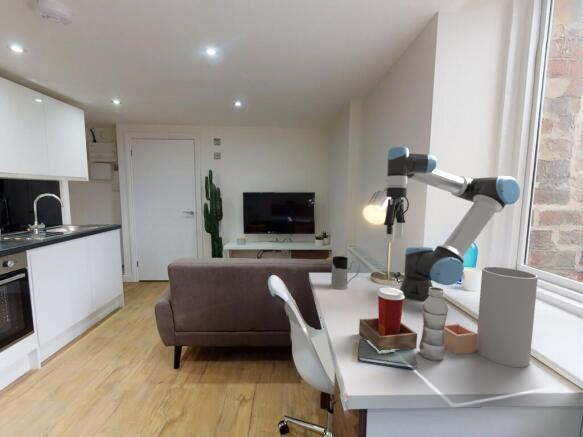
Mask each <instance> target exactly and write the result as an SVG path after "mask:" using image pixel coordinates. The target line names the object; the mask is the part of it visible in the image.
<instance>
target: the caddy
mask: <svg viewBox="0 0 583 437" xmlns="http://www.w3.org/2000/svg"><path fill="white" fill-rule="evenodd" d="M358 326H359V327H358V334H359V336H360V337H361V338H362V339H363V340H364V339H366V340H369V341H370V342H371V343H372V344H373V345H374V346H375V347H376V348H377V349H378V350H379V351H381V350H391V349H405V348H413V349H417V345H418V344H417V341H418V333H417V332H416V331H414V330H412V329H411V328H410V327H408V326H407V325H406V324H404V323H403V322H401V323H400V331H399V334H398V335H388V336H380V335H379V322H378V317H375V318H374V317H372V318H360V319H359V323H358ZM405 350H406V349H405Z"/></svg>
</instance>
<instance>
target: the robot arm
mask: <svg viewBox="0 0 583 437" xmlns="http://www.w3.org/2000/svg"><path fill="white" fill-rule="evenodd" d="M386 160H387V170H386V171H387V173H386V174H387V175H386V176H387V177H386V178H385V182H386V187H387V188H386V192H385V193H386V198H390V199H388V200H387V208H386V212H385V220H384V223H383V225H384V226H386V230H385V243H391V244H393V243H394V240H395V239H401V240H402V239H403V234H404V233H403V230H404V224H405V223H406V218H405V209H404V199H403V198H407V192H408V190H407V186H408V179H410V180H413V181H416V182H419V183H422V184H425V185H428V186H431V187H433V188H436V189H440V190H443V191H446V192H448V193H450V194H451V195H452V196H453V197H455V198H459V199H463V200H465V201H469V202H471V203H473V204H472V206H470V208H469V210H468V211H467V212H466V214H465V215H464V216H463V218H462V219H461V220H460V222H459V223H458V224H457V226H456V227H455V228H454V230H452V232H451V234H450V235H449V237H448V238H447V239H446V241H444V243H443V244H441V245H437V246H436V248H435V249H433V247H426V246H410V247H407V248H406V249H405V254H404V256H405V259H404V275H403V276H404V277H403V280H402V282H401V285H400V287H399V290H401V291H402V292H403V295H404V297H405V298H406V299H409V300H414V301H419V302H424V301H425V300H426V299H427V298H428V297H429V295H428V292H429V288H430V287H434V286H433V282H435V283H436V284H438V285H439V284H440V285H443V286H452V285H454V284H456V283H458V282H459V281H460V280H461V279H462V278H463V275H464V274H465V273H464V270H465V267H464V263H465V260H464V257H465V255H466V253H467V252H468V251H469V249H470V248H471V246H472V245H473V244H474V242H475V241H476V239H478V237H479V236H480V234H481V233H482V232H483V229H484V228H485V227H486V226H487V225H488V223H489V222H490V220H491V219H492V217H493V216H494V215H495V214H497V213H500V212H501V213H502V211H503V210H504V208H505V207H506V206H507V205H512V204H515V203H516V202H517V201H518V200H519V198H520V196H521V187H520V184H519V182H518V181H517V180H516V179H515V178H514V177H512V176H509V175H508V176H506V175H500V176H494V177H493V176H492V177H475V178H474V177H467V176H464V175H463V176H456V175H453V174H450V173H448V172H444V171H441V170H440V169H436V168H437V165H438V164H437V162H438V161H437V157H436V156H435V155H434V154H428V153H425V154H424V153H410V151H409V148H408V147H407V146H406V147H405V146H395V147H391V148H389V150H388V153H387V159H386ZM395 220H396V222H395ZM394 223H395V224H394ZM432 281H433V282H432Z"/></svg>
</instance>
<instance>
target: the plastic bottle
mask: <svg viewBox="0 0 583 437" xmlns="http://www.w3.org/2000/svg"><path fill="white" fill-rule="evenodd" d="M444 292H445V291H444V289H443V288H440V287H437V286H436V287H435V286H433V287H430V288H429V292H428V295H429V297H428V298H427V299H426V300H425V301H423V303H422V319H423V322H422V323H423V324H422V332H421V333H422V334H421V339H420V342H419V346H418V347H419V348H418V349H419V352H420V354H421V356H422V357H423V358H424V359H427V360H428V361H433V362H440V361H442V360H444V357H445V355H446V347H445V345H444V330H445V329H444V328H445V325H446V321H447V317H448V314H449V307H448V305H447V302H445V299H444V297H445V295H444Z"/></svg>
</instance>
